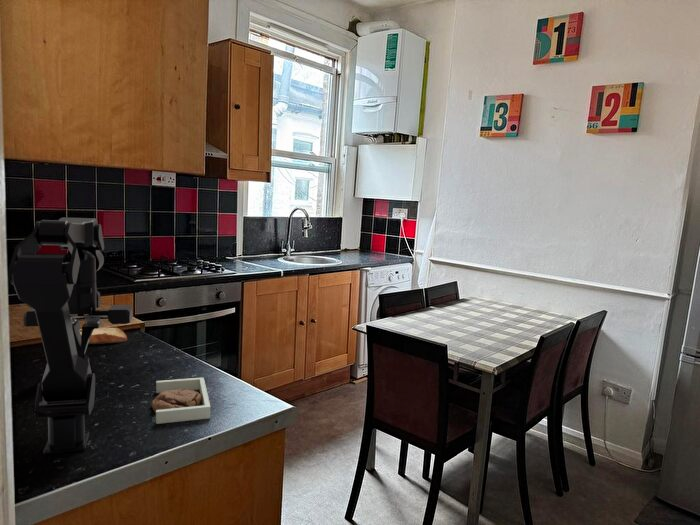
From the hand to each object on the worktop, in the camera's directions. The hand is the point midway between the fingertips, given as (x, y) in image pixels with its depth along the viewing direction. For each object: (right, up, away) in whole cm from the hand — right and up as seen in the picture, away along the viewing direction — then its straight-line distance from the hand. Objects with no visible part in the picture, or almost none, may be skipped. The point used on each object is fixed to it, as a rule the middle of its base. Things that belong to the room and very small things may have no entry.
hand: (81, 356), depth 102 cm
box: (+18, -12, +8) cm, 23 cm away
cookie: (+17, -13, +7) cm, 22 cm away
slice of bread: (-24, -5, +49) cm, 55 cm away
